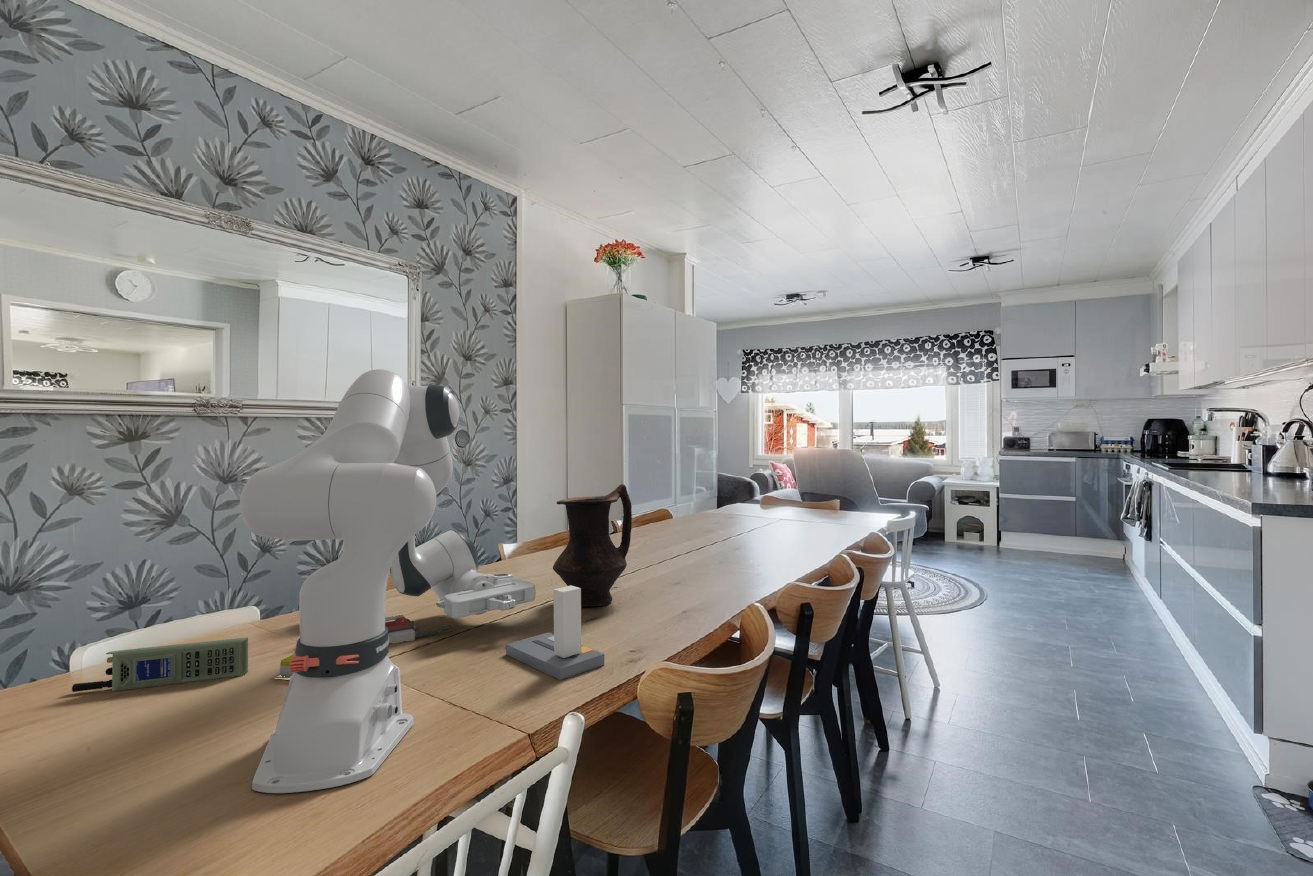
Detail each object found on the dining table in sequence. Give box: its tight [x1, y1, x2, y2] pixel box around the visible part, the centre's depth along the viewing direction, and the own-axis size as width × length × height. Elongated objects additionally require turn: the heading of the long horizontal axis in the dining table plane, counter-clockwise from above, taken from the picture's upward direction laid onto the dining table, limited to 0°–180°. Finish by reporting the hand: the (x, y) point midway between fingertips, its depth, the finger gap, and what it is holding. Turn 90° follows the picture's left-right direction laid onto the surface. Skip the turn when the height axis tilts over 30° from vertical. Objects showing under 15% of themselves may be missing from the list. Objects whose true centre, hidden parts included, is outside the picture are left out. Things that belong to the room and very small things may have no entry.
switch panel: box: [505, 632, 605, 681], centre depth 116 cm, size 18×10×2 cm, turn 45°
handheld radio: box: [71, 637, 249, 693], centre depth 107 cm, size 7×3×25 cm
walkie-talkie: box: [385, 614, 453, 644], centre depth 130 cm, size 9×4×20 cm
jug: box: [552, 483, 633, 607], centre depth 156 cm, size 21×18×30 cm
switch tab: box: [553, 585, 582, 658], centre depth 113 cm, size 3×4×12 cm
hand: (509, 605), depth 128 cm, fingers closed
